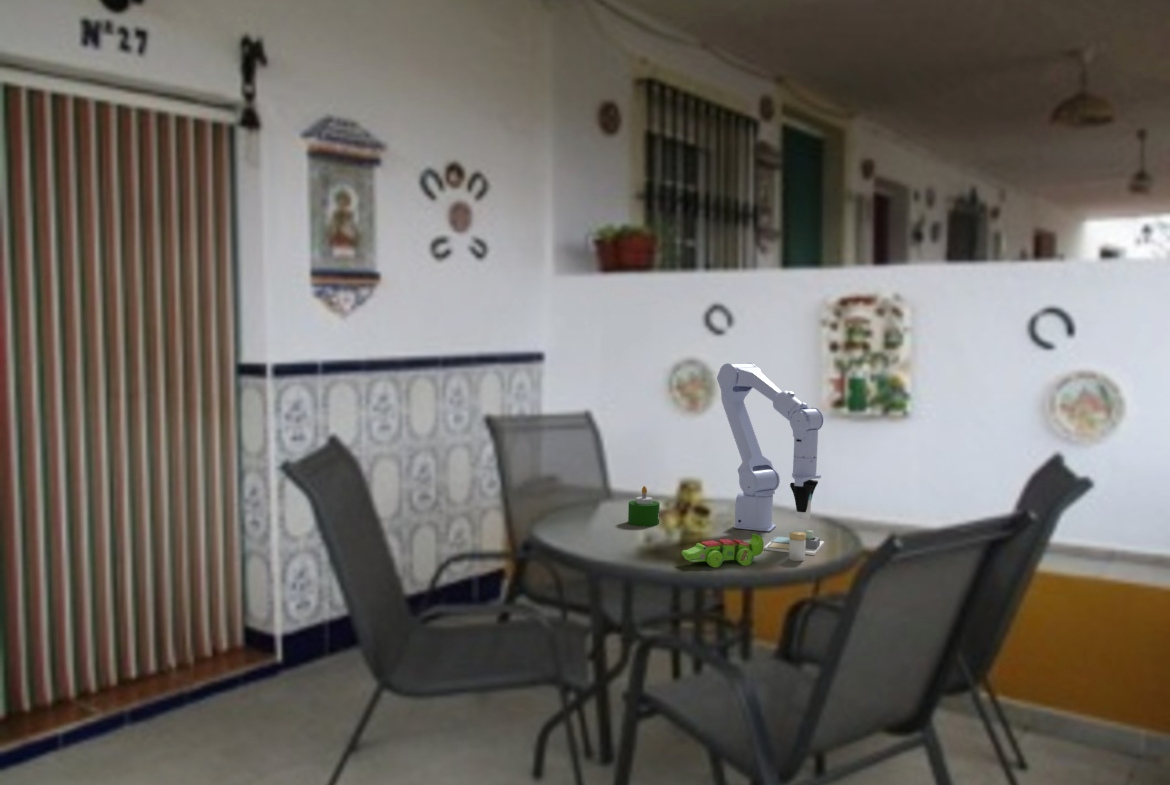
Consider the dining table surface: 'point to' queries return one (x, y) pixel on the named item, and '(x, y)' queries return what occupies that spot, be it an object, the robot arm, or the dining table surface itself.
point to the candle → (643, 511)
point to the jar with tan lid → (797, 546)
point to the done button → (809, 534)
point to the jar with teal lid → (806, 514)
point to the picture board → (783, 545)
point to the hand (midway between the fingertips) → (803, 510)
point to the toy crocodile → (725, 551)
